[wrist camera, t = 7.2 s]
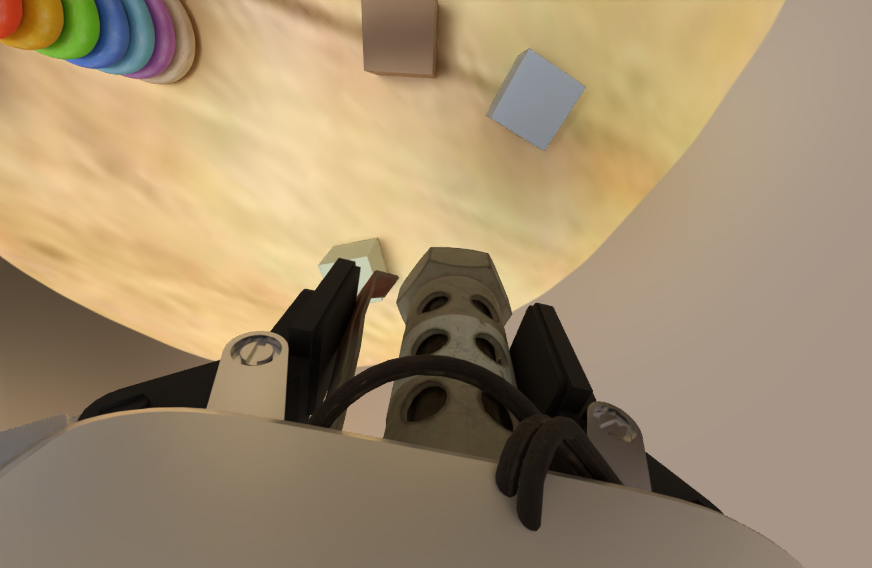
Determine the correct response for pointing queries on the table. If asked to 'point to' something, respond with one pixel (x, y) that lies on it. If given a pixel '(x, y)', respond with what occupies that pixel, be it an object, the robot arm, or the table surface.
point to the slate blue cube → (535, 99)
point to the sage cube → (357, 260)
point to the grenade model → (460, 380)
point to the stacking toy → (105, 35)
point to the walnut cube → (400, 37)
